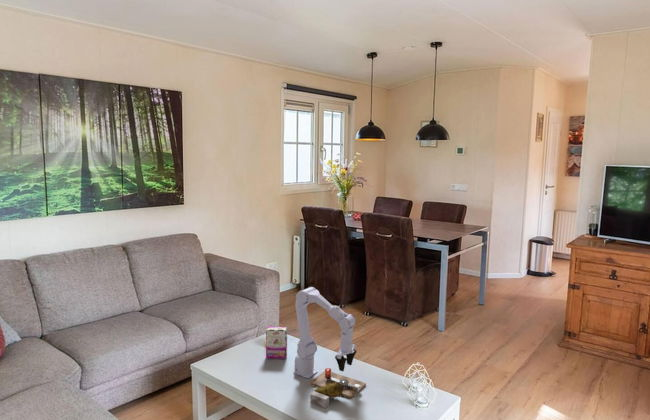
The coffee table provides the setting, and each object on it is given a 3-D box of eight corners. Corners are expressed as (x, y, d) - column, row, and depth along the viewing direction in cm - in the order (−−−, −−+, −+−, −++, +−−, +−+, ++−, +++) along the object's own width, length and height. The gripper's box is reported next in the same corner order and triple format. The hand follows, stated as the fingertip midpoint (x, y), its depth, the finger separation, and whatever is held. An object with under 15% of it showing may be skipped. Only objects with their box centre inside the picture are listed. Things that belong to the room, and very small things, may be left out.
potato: (321, 390, 217) (321, 374, 216) (345, 398, 211) (346, 381, 210) (312, 398, 210) (312, 382, 209) (337, 406, 203) (337, 389, 202)
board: (293, 396, 211) (293, 387, 211) (325, 372, 235) (325, 364, 234) (336, 412, 199) (336, 403, 199) (365, 385, 223) (366, 377, 222)
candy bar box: (287, 355, 253) (287, 326, 251) (286, 359, 248) (286, 330, 246) (267, 354, 254) (267, 326, 252) (265, 358, 249) (265, 329, 247)
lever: (361, 388, 217) (361, 377, 216) (356, 392, 213) (357, 381, 213) (327, 377, 227) (327, 367, 226) (322, 381, 223) (323, 370, 222)
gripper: (346, 347, 210) (345, 375, 211) (361, 337, 222) (359, 364, 224) (333, 344, 213) (332, 371, 215) (348, 334, 226) (347, 360, 227)
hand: (345, 367), depth 220 cm, fingers open, 7 cm apart
